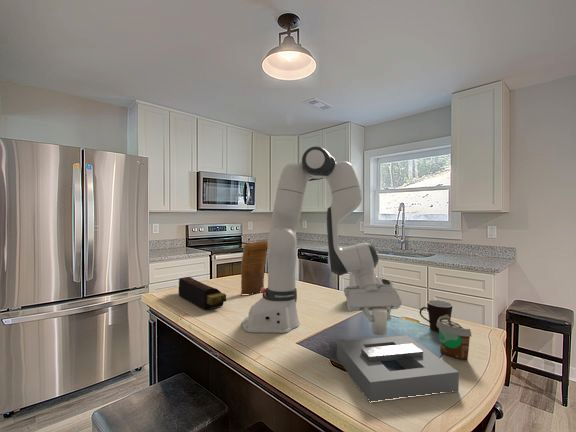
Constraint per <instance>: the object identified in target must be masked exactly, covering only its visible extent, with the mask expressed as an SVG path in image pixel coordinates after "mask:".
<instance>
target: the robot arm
mask: <svg viewBox="0 0 576 432" xmlns="http://www.w3.org/2000/svg"><path fill="white" fill-rule="evenodd" d="M323 179H325V180H326V181H327V183H328V185H329V189H330V193H331V203H330V206H329V207H328V208H327V209H326V229H327V230H326V233H327V234H326V235H327V247H328V248H327V249H328V255H327V265H328V268H329V270H330V272H332V273H333V274H335V275H337V276H343V275H345V274H346V275H347V274H348V273H350V272H352V274H353V275H354V278H355V284H356V286H353V287H350V286H346V287H345V288H344V289H343V293H344V296H345V297H346V305H347V308H348V309H347V310H349V311H350V312H362V313H363V315H364V316H365V317H366V318H367V320H368V322H369V323H372V322H374V320H375V319H374V316H373V315H372V313H371V312H369V311H372V309H373V308H383V309H386V310H387V322H389V321H392V316H391V312H392V310H397V309H399V308H400V307H401V305H402V304H403V303H402V302H403V301H402V299H401V297H400V294H399V292H398V291H397V289H396V288H395V287H394V286H393V281H391V280H390V279H386V278H384V277H379V276H378V274H377V273H376V272H375V269H376V267H377V265H378V263H379V256H378V254H377V250H376V248H375V246H374V245H373V244H371V243H369V242H366V241H365V242H361V243H357V244H353V245H348V246H344V247H340V244H339V231H338V230H339V229H338V228H339V225H340V222H341V221H342V220H343V219H344V218H346V217H347V216H349V215H350V214H352V213H353V212H355V211H356V210H357V209H358V208H359V206H360V205H361V203H362V197H363V196H362V190H361V186H360V182H359V180H358V176H357V174H356V171H355V168H354V167H353V165H352V164H351V163H350V162H349V161H344V160H339V161H336V159H335V158H334V156H332V155H331V154H330V152H328V151H327V149H325V148H323V147H322V146H311V147H309V148H307V149H306V150H305V151H304V153H303V154H302V157H301V162H299V163H288V164H286V165H285V166H283V168H282V171H281V174H280V177H279V180H278V184H277V188H276V194H275V197H274V198H275V199H274V203H273V211H272V216H271V221H270V227H269V228H270V229H269V233H268V236H267V242H268V249H267V287H266V288H265V286H264V287H262V288H261V292H260V293H262V298H260V299H259V300H258V301H256V302H255V303H254V304H253V305H251V306H250V309H249V311H248V316H246V317H244V319H243V320H242V329H243V330H244V331H245V332H247V333H265V334H266V333H272V334H275V333H276V334H277V333H280V334H282V333H287V334H288V333H289V332H290V331H291V330H293V329H295V328H297V327H299V325H300V320H299V316H298V310H297V300H298V290H297V288H296V282H297V281H296V279H297V278H296V277H297V276H296V273H297V272H296V271H297V270H296V269H297V268H296V267H297V248H298V247H297V245H298V243H297V233H298V232H297V231H298V227H299V223H300V218H301V214H302V210H303V203H304V200H305V199H304V198H305V192H306V188H307V184H308V182H311V181H312V182H313V181H318V180H319V181H320V180H323Z"/></svg>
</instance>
